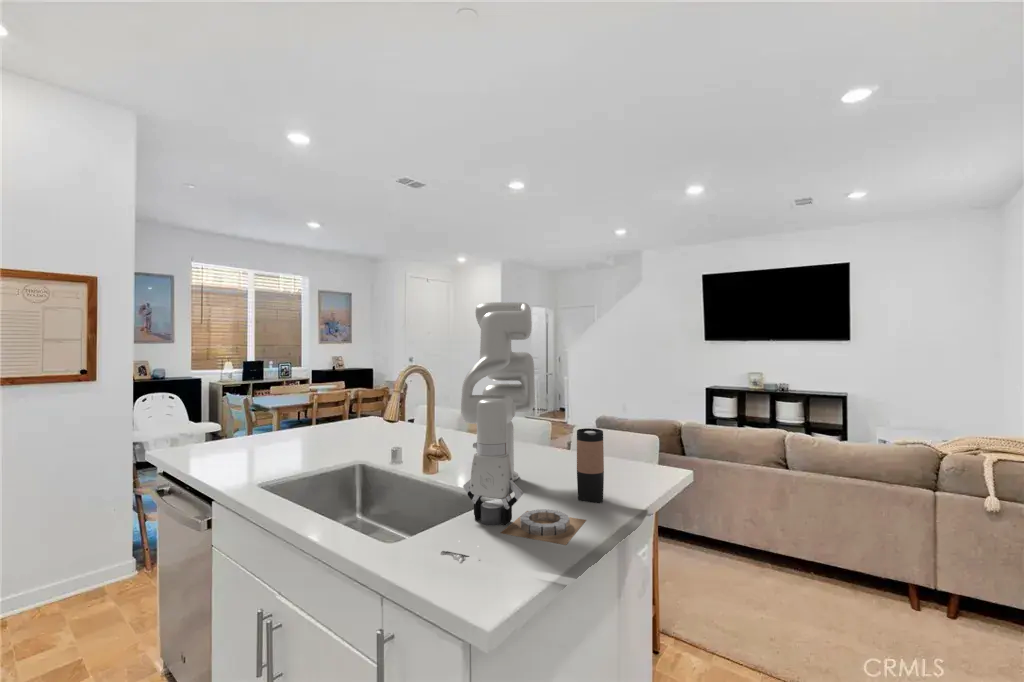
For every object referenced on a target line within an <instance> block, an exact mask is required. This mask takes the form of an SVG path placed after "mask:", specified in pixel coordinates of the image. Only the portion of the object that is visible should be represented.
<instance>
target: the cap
mask: <svg viewBox="0 0 1024 682" xmlns="http://www.w3.org/2000/svg"><path fill="white" fill-rule="evenodd" d="M504 508H505V507H504V504H503V502H502V500H500V501H499V500H493V499H492V500H485V501H483V503H482V504H481V518H480V523H481V524H482V525H485V526H491V527H492V526H493V527H494V526H500V525H503V509H504Z"/></svg>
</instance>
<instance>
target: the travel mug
mask: <svg viewBox="0 0 1024 682" xmlns="http://www.w3.org/2000/svg"><path fill="white" fill-rule="evenodd" d="M604 451H605V450H604V430H602V429H599V428H590V427H588V428H587V427H585V428H579V429H577V430H576V479H577V480H576V483H577V487H576V488H577V501H578V502H585V503H592V504H599V505H601V504H602V503H603V502H604V481H605V479H604V477H605V459H604V457H605V456H604V454H605V453H604Z"/></svg>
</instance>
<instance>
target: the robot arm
mask: <svg viewBox="0 0 1024 682" xmlns="http://www.w3.org/2000/svg"><path fill="white" fill-rule="evenodd" d="M530 307H531V306H530V305H529V304H528V303H526V302H520V301H518V302H517V301H516V302H515V301H514V302H512V301H511V302H509V301H508V302H507V301H506V302H503V301H501V302H499V301H497V302H496V301H495V302H483V303H480V304H478V305H477V306H476V308H475V312H474V313H475V318H476V321H477V324H478V326H479V328H480V346H479V359H478V362H476V363H475V364H474V365H473V366H472V367H471V368H470V370H469V371H468V372H467V374H466V376H465V377H464V380H463V383H462V389H461V398H460V399H461V400H460V401H461V402H460V414H461V418H462V420H463V421H464V422H465V423H466V424H474V425H475V424H476V442H473V443H472V448H474V449H476V453H474V454H473V458H472V462H471V468H470V470H471V472H470V479H469V480H468V481H467V482H465V483H464V484H463V486H462V487H463V489H464V490H465V492H466V493H467V496H468V497H469V499H470V500H471V503H472V504H473V515H474V520H475V521H479V520H481V504H482V503H483V502H484V501H483V500H482V498H483V497H484V498H489V499H490V498H491V499H496V500H500V501H501V502H503V504H504V507H505V508H504V509H503V524H502V526H507V525H508V524H509V523H511V521H512V519H513V506H514V505H515V504H516V503H517V502H518V501H519V499H520V498H521V497H522V496H523V495H524V491H523V490H522V489H521V488H520V487H519V485H517V484H516V483H515V482H514V481H517V480H518V479H519V473H518V472H516V471H515V452H514V451H515V449H514V448H515V447H514V446H515V445H514V440H515V438H514V437H515V436H514V433H515V429H514V424H513V422H512V420H513V419H514V418H515V415H516V413H526V412H527V413H529V412H531V411H532V410H533V409H534V408H535V396H536V395H535V390H536V387H535V363H534V358H533V356H532V354H530V353H529V352H526V351H513V350H512V341H513V340H515V341H522V340H528V339H529V338H530V336H531V333H532V328H533V327H532V325H533V324H532V323H533V322H532V310H531V308H530ZM486 377H488V379H490V380H491V381H496V382H497V381H500V382H508V381H510V382H513V381H515V382H516V381H517V382H518V381H519V382H520V383H491V384H489V385H487V386H485V387H484V389H483V391H482V394H473V393H474V392H473V391H474V387H475V386H476V384H478V382H480V381H481V380H483V378H486ZM513 493H514V495H513V497H512V494H513Z"/></svg>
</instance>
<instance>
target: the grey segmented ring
mask: <svg viewBox="0 0 1024 682" xmlns="http://www.w3.org/2000/svg"><path fill="white" fill-rule="evenodd" d="M527 511H528V512H526V511H525V512H526V513H525V512H524V513H523V514H521V515H520V516H519V517H520V526H521V529H522V530H523V531H525V532H527V533H529V534H533V535H538V536H542V535H543V536H555V535H559V534H562V533H565V532H566V531H567V530H568V529H569V527H570V519H569V517H570V516H568V514H566V513H564V512H562V511H560V510H559V511H558V510H557V509H556V510H553V509H532V510H527ZM539 520H548V521H554V522H555V523H552V524H541V523H535V521H539Z"/></svg>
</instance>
